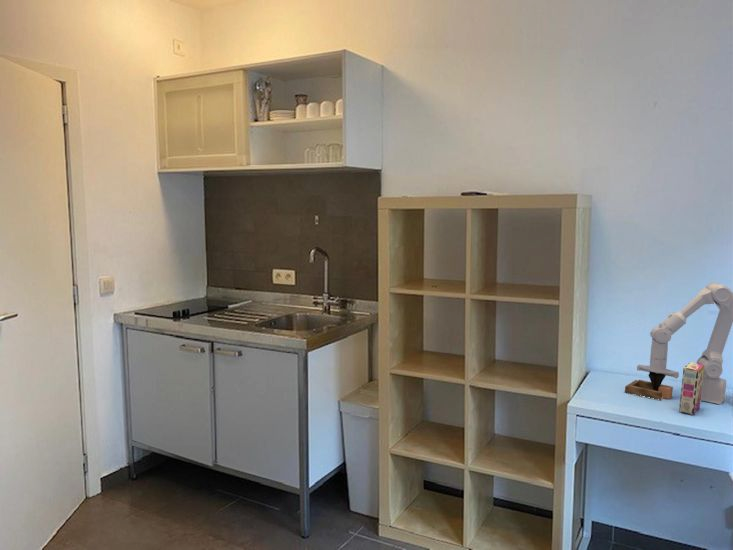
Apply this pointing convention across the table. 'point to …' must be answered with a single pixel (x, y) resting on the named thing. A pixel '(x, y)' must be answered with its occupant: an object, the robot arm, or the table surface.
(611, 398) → the table surface
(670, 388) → the cube
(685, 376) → the candy bar box
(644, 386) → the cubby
